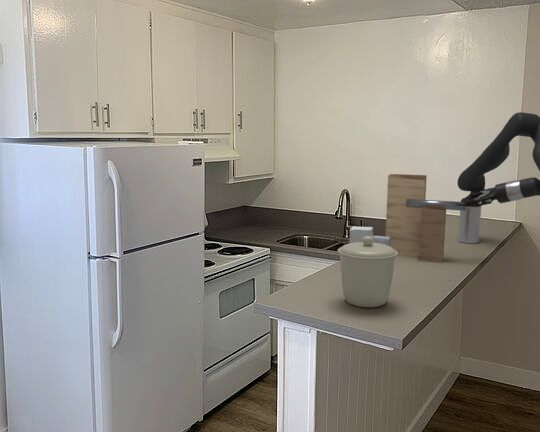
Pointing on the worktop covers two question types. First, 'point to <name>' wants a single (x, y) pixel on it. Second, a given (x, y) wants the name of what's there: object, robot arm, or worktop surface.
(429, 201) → the pin
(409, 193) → the stand
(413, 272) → the worktop surface
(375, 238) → the medicine box
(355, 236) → the skincare box
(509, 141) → the robot arm
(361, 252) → the canister
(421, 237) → the tall wooden post
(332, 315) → the worktop surface
